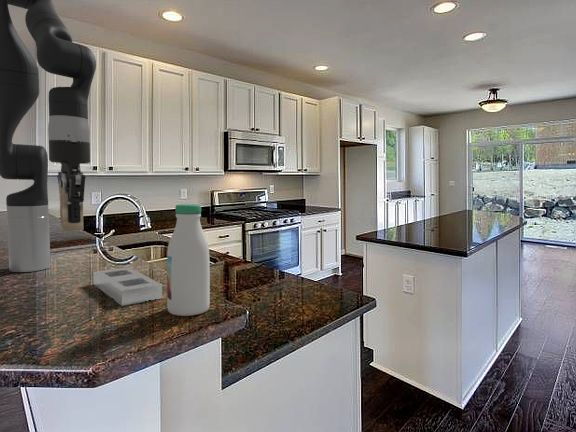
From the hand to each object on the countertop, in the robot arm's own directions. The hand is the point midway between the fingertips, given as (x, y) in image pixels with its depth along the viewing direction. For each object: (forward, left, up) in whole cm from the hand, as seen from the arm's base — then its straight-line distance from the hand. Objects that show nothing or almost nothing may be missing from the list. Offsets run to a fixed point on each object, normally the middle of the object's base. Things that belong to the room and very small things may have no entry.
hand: (72, 221), depth 80 cm
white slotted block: (+6, +9, -15) cm, 19 cm away
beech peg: (0, 0, -2) cm, 2 cm away
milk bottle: (+26, +14, -16) cm, 33 cm away
